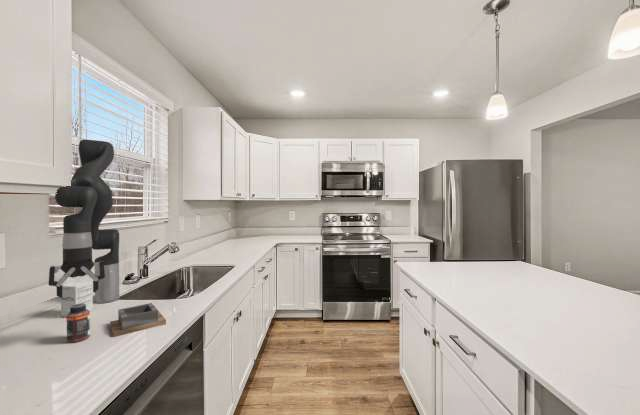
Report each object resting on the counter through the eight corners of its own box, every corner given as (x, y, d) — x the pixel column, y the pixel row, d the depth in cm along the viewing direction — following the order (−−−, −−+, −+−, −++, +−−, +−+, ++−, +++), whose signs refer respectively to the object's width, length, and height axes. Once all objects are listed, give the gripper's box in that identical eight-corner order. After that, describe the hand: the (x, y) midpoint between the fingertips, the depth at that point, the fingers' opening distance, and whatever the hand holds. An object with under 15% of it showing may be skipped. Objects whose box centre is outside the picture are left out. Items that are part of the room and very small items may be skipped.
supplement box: (60, 317, 115) (59, 285, 115) (78, 310, 122) (78, 280, 122) (75, 318, 114) (75, 286, 113) (93, 311, 121) (93, 281, 121)
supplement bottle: (94, 335, 99) (94, 302, 99) (78, 343, 93) (78, 308, 93) (78, 334, 99) (78, 302, 99) (61, 342, 93) (61, 308, 93)
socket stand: (110, 325, 106) (109, 310, 106) (158, 314, 117) (158, 301, 117) (113, 336, 97) (113, 320, 97) (165, 323, 108) (165, 309, 108)
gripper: (103, 243, 103) (103, 288, 103) (48, 247, 94) (49, 296, 94) (105, 245, 98) (105, 292, 98) (47, 249, 88) (48, 302, 88)
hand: (78, 294), depth 96 cm, fingers open, 8 cm apart
